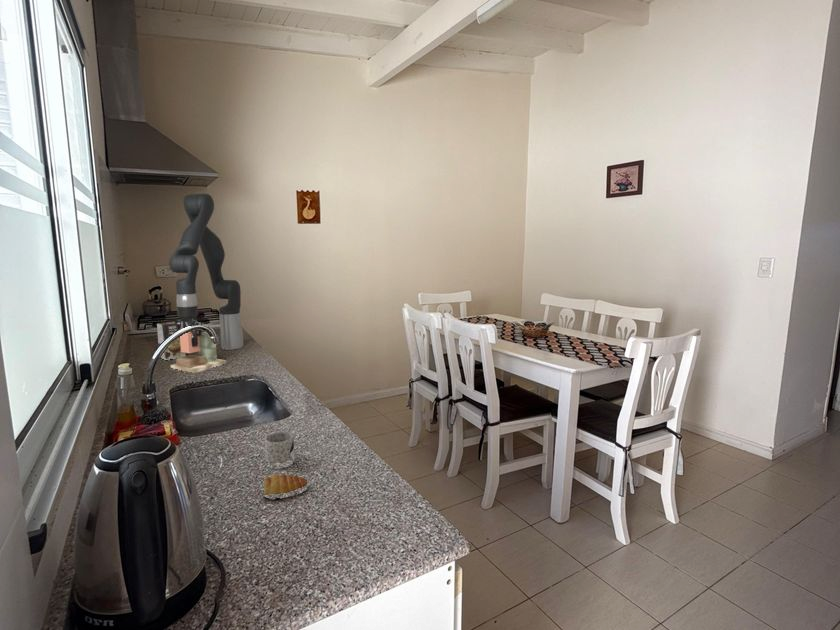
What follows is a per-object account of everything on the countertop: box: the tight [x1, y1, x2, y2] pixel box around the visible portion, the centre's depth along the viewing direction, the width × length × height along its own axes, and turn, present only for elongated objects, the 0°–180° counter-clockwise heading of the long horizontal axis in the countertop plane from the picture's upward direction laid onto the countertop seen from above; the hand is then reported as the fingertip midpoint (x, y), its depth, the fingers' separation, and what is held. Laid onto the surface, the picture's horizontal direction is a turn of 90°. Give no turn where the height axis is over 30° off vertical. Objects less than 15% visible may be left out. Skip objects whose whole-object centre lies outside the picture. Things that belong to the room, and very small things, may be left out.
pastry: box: [263, 473, 308, 495], centre depth 103 cm, size 9×7×4 cm
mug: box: [264, 431, 295, 463], centre depth 118 cm, size 10×7×7 cm
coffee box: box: [156, 320, 187, 361], centre depth 214 cm, size 9×6×16 cm
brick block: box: [180, 331, 200, 354], centre depth 197 cm, size 5×5×9 cm
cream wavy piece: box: [170, 331, 227, 374], centre depth 201 cm, size 16×14×14 cm
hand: (190, 345), depth 197 cm, fingers closed on brick block, 5 cm apart
